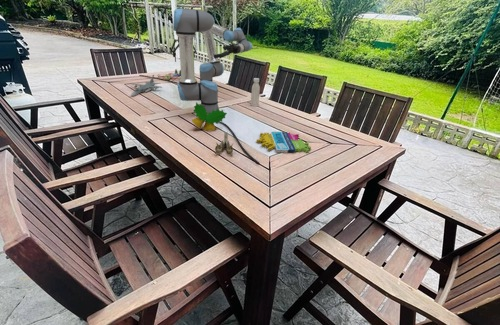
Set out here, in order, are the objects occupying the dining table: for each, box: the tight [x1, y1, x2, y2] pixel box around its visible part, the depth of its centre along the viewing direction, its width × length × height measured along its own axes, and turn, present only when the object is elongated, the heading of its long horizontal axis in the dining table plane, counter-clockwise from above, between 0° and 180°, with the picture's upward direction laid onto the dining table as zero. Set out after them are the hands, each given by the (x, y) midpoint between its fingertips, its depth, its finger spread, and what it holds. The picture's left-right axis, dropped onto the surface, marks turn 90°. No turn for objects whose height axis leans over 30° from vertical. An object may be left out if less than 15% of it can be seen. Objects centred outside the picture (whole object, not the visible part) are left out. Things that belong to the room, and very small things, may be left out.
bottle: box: [250, 81, 261, 107], centre depth 210 cm, size 6×6×21 cm
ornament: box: [191, 101, 228, 132], centre depth 162 cm, size 21×8×15 cm, turn 105°
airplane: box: [128, 74, 161, 97], centre depth 228 cm, size 38×31×10 cm
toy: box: [156, 69, 181, 81], centre depth 280 cm, size 28×7×30 cm
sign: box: [256, 131, 312, 154], centre depth 152 cm, size 26×2×30 cm
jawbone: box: [214, 131, 234, 156], centre depth 136 cm, size 9×15×10 cm
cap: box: [253, 77, 260, 83], centre depth 205 cm, size 4×4×2 cm
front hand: (184, 61), depth 211 cm, fingers open, 13 cm apart
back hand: (218, 52), depth 204 cm, fingers open, 13 cm apart
